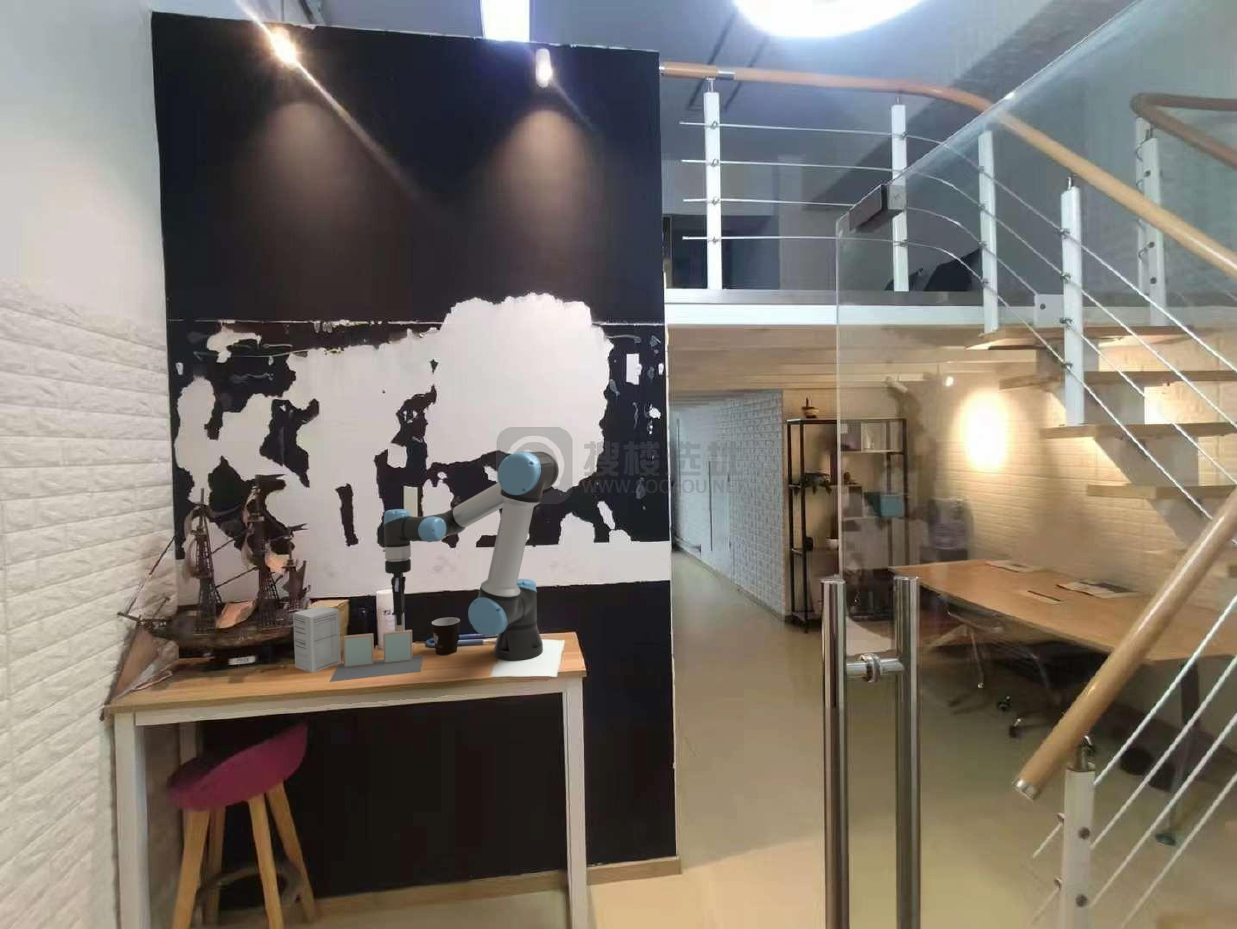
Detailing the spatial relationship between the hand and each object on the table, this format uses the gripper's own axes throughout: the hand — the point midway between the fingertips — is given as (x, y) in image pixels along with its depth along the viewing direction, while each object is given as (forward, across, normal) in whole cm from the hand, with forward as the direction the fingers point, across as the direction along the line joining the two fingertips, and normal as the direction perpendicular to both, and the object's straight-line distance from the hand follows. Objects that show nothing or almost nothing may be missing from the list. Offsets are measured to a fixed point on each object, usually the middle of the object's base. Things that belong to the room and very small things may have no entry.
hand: (399, 634), depth 183 cm
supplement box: (+7, +2, -23) cm, 24 cm away
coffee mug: (+7, +3, +14) cm, 16 cm away
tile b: (+7, +6, -11) cm, 14 cm away
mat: (+7, +10, -5) cm, 13 cm away
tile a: (+7, +6, 0) cm, 9 cm away
